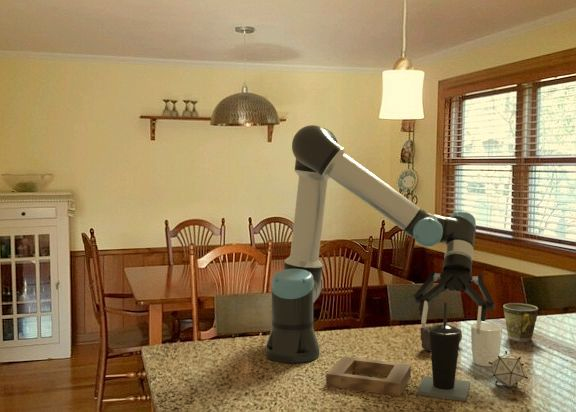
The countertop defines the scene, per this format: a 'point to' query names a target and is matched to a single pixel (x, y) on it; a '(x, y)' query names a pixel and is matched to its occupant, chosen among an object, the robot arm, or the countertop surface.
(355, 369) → the holder frame
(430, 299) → the robot arm
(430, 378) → the slate mat
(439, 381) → the drinking cup
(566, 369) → the countertop surface
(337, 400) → the countertop surface
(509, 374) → the game die
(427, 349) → the perforated stone tool
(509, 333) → the ceramic cup
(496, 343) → the white cup
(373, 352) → the countertop surface
